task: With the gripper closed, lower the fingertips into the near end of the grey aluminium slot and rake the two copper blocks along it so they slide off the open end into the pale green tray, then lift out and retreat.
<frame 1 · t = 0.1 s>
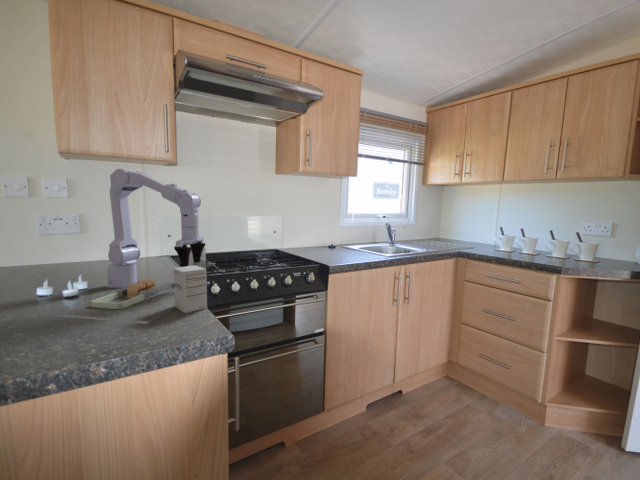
hand: (191, 264, 117), 10 cm above the countertop, tool pointing down, fingers open, 7 cm apart
front copper block: (137, 295, 109), point 1 cm above the countertop, touching aluminium slot
rear copper block: (146, 292, 113), point 1 cm above the countertop, touching aluminium slot
syrup box: (196, 282, 131), on the countertop
supplement box: (191, 308, 99), on the countertop
aluminium slot: (145, 294, 113), on the countertop
tray: (118, 304, 101), on the countertop
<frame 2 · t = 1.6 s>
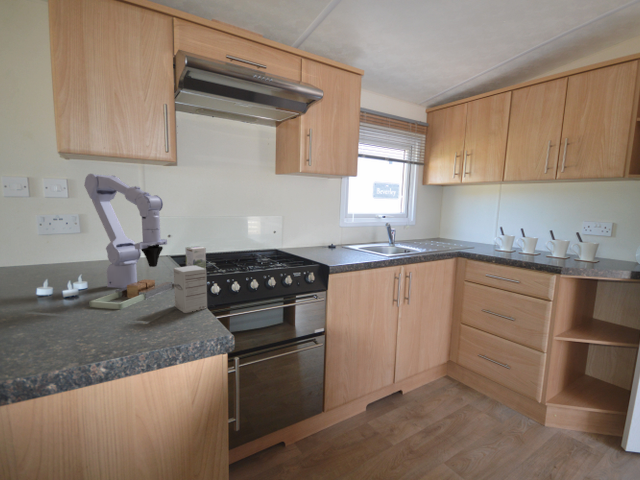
hand: (153, 266, 116), 9 cm above the countertop, tool pointing down, fingers closed
nothing on the countertop moved.
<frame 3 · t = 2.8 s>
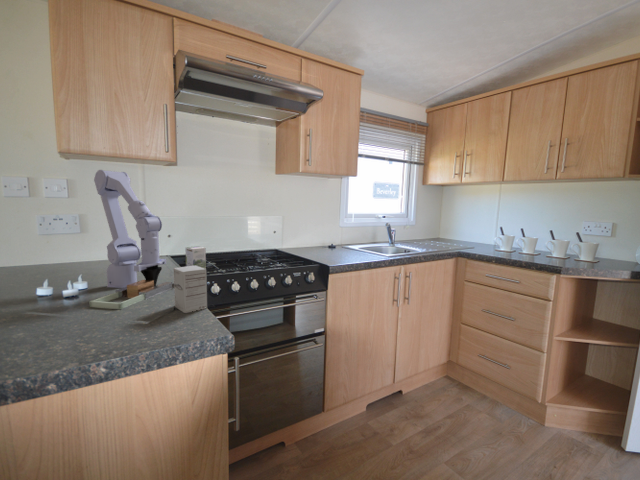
hand: (152, 287, 116), 2 cm above the countertop, tool pointing down, fingers closed
front copper block: (137, 295, 109), point 1 cm above the countertop, touching rear copper block
rear copper block: (145, 292, 113), point 1 cm above the countertop, touching front copper block, gripper
everything else where it was.
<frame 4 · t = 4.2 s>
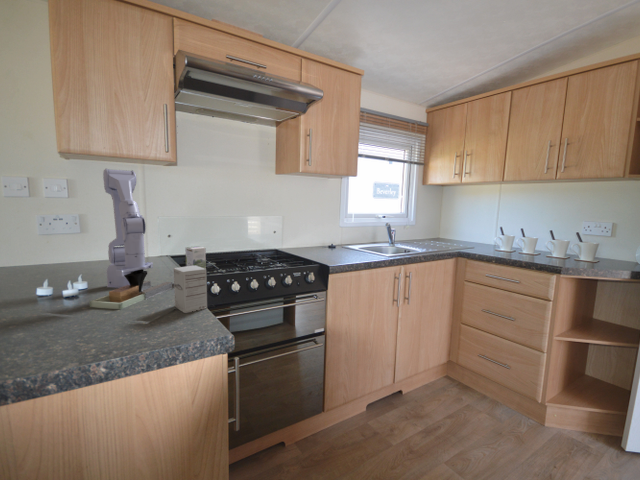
hand: (136, 292, 109), 2 cm above the countertop, tool pointing down, fingers closed
front copper block: (120, 302, 102), point 1 cm above the countertop, touching rear copper block
rear copper block: (129, 298, 106), point 1 cm above the countertop, touching front copper block, gripper
everything else where it was.
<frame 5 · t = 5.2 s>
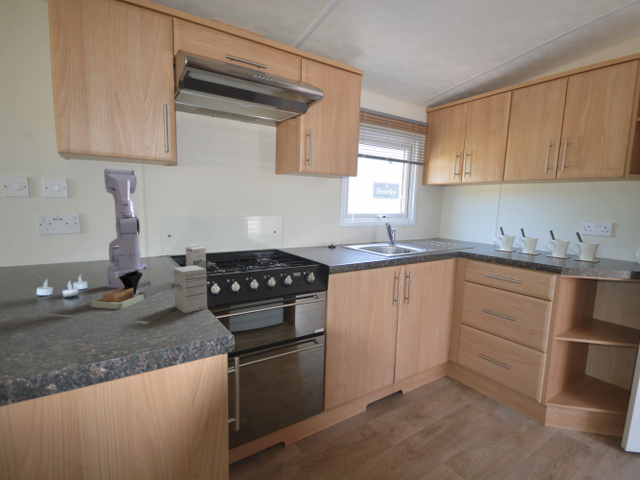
hand: (131, 294, 106), 2 cm above the countertop, tool pointing down, fingers closed
front copper block: (114, 304, 99), resting on tray, touching rear copper block
rear copper block: (123, 300, 103), resting on tray, touching front copper block, gripper
everything else where it was.
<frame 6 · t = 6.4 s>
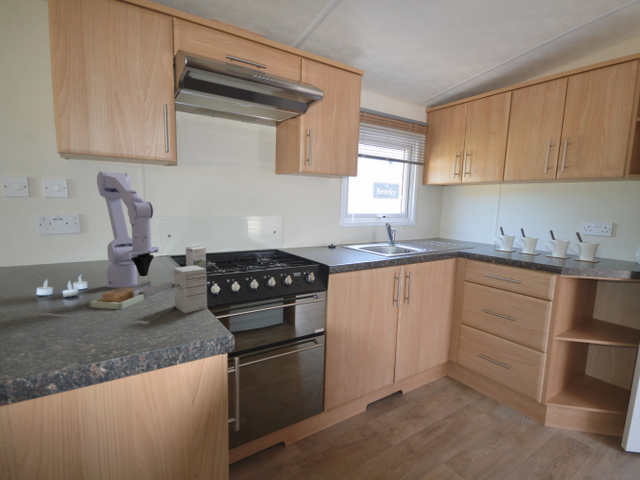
hand: (143, 275, 112), 7 cm above the countertop, tool pointing down, fingers closed
rear copper block: (123, 300, 103), resting on tray, touching front copper block
everything else where it was.
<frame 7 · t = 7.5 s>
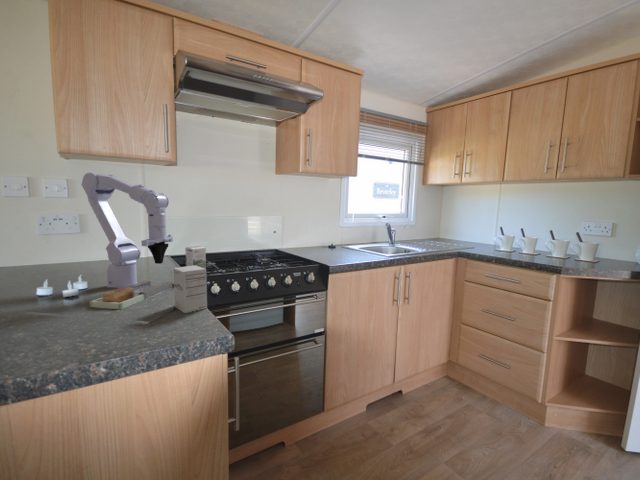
hand: (158, 263, 118), 10 cm above the countertop, tool pointing down, fingers closed
nothing on the countertop moved.
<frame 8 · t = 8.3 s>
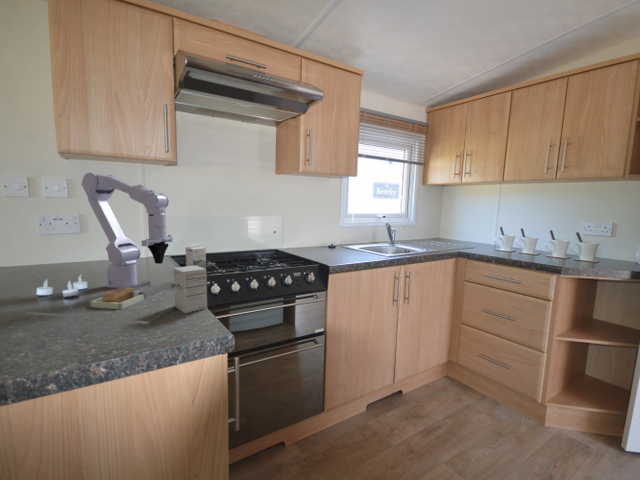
hand: (158, 263, 118), 10 cm above the countertop, tool pointing down, fingers closed
nothing on the countertop moved.
at the end: rear copper block inside the target area on the tray (2.1 cm from its centre), point 0.5 cm above the tray's base; front copper block inside the target area on the tray (1.9 cm from its centre), point 0.5 cm above the tray's base; the gripper is holding nothing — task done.
